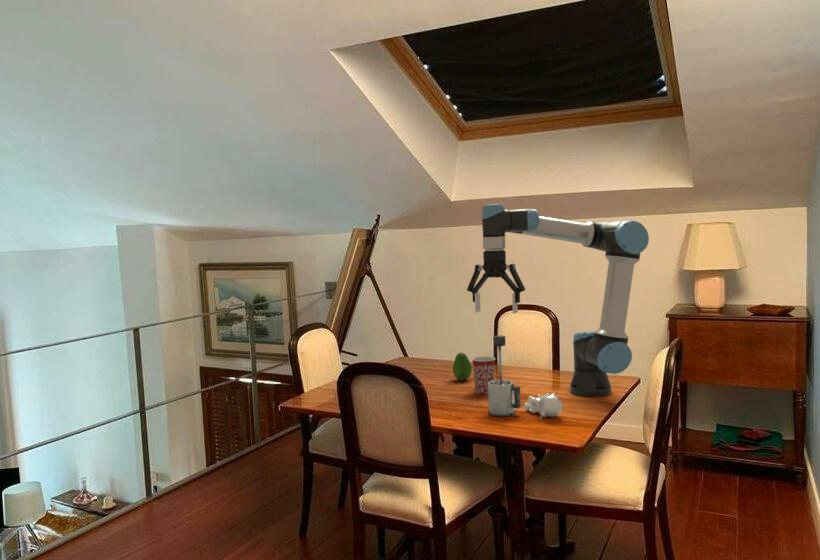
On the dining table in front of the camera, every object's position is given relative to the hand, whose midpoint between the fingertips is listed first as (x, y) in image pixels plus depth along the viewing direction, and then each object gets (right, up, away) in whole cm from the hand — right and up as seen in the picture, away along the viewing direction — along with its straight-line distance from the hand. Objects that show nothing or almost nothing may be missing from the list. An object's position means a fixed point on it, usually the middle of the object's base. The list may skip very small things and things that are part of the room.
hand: (496, 312), depth 210 cm
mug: (-1, -33, +31) cm, 45 cm away
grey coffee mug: (+2, -35, +1) cm, 35 cm away
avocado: (-7, -32, +51) cm, 60 cm away
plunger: (+2, -25, 0) cm, 25 cm away
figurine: (+16, -35, -3) cm, 38 cm away
